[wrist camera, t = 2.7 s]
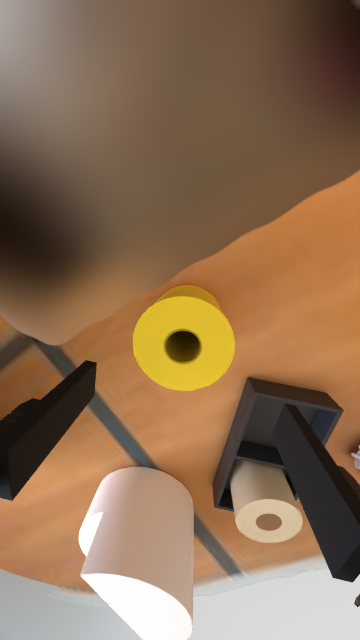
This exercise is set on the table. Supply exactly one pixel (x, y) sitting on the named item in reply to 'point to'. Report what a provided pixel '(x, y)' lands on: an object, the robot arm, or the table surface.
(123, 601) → the white notched cylinder
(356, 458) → the charger
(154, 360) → the tape roll
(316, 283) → the table surface
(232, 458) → the rack
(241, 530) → the paper roll
